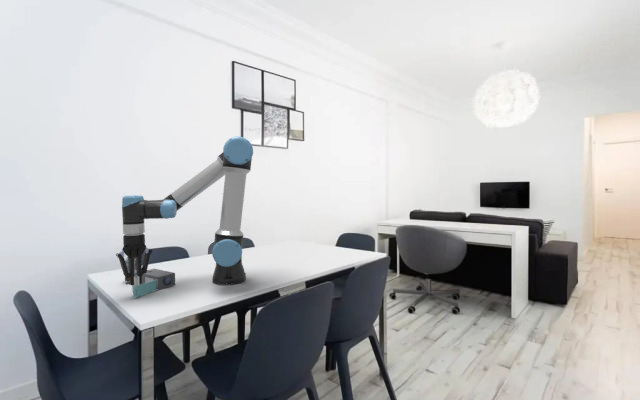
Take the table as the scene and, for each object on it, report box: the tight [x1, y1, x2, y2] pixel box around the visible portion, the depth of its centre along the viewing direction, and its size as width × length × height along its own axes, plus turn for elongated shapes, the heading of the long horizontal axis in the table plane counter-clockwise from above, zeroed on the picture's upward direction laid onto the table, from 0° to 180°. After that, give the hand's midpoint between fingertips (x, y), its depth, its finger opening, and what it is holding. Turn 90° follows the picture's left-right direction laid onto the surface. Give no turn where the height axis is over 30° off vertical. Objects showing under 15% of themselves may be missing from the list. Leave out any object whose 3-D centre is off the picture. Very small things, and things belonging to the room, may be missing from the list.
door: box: [132, 279, 158, 299], centre depth 135 cm, size 12×2×4 cm, turn 163°
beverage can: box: [124, 256, 137, 283], centre depth 154 cm, size 6×7×12 cm
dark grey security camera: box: [140, 268, 176, 291], centre depth 149 cm, size 17×8×6 cm, turn 58°
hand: (136, 292), depth 133 cm, fingers closed
